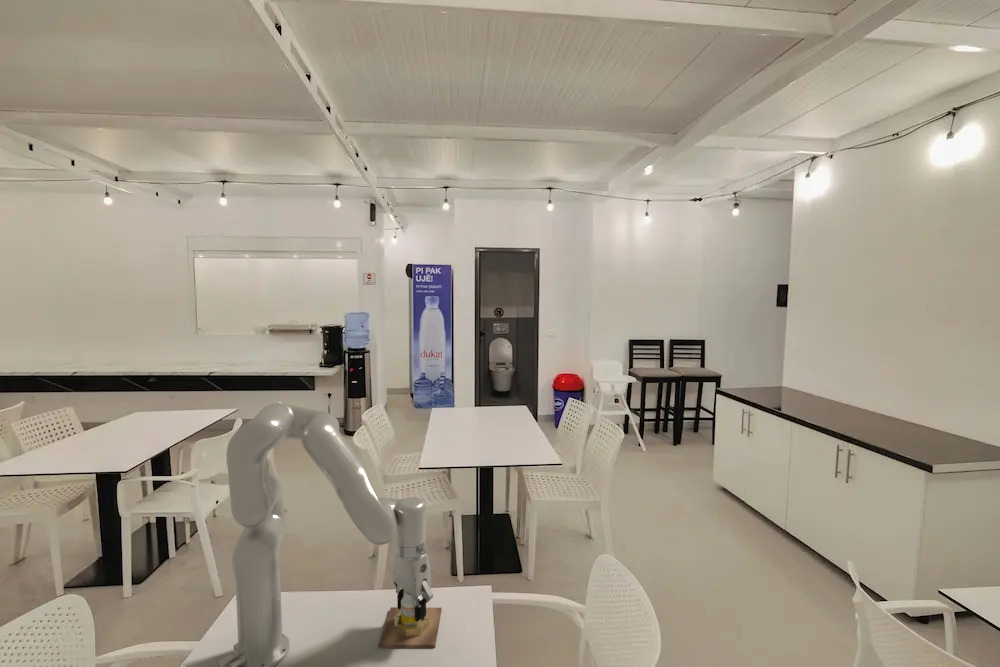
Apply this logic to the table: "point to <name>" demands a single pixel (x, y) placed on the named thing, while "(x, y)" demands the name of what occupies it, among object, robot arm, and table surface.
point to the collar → (410, 630)
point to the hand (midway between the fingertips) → (411, 611)
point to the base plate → (398, 641)
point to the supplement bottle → (408, 610)
